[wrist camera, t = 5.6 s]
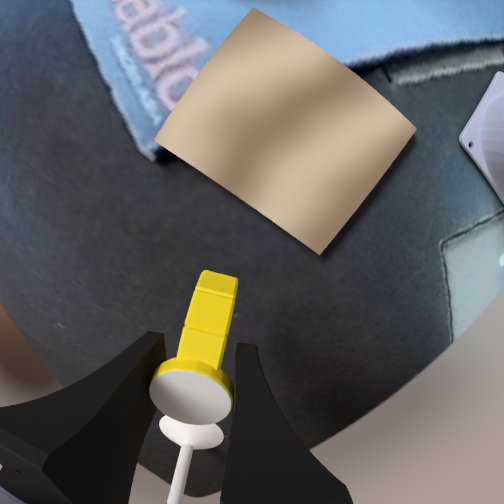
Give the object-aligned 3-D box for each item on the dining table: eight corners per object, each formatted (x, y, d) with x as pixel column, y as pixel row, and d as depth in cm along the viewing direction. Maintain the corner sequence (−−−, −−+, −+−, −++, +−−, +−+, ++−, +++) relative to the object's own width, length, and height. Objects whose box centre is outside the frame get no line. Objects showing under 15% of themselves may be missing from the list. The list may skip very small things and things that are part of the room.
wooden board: (411, 129, 16) (416, 128, 15) (317, 250, 19) (319, 255, 18) (253, 12, 14) (253, 7, 13) (158, 140, 17) (153, 140, 16)
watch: (228, 361, 15) (215, 454, 10) (177, 348, 15) (147, 436, 10) (257, 261, 13) (254, 349, 8) (195, 246, 13) (152, 323, 8)
